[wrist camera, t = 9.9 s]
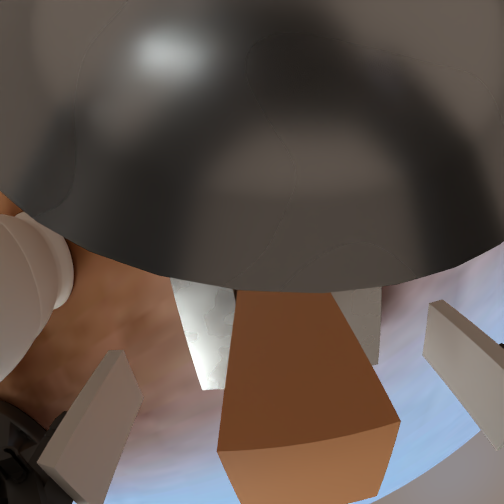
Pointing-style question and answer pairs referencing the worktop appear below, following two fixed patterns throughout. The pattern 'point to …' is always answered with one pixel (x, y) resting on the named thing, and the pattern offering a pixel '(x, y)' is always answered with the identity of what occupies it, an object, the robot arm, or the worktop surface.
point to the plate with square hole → (259, 144)
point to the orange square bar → (302, 404)
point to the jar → (29, 283)
